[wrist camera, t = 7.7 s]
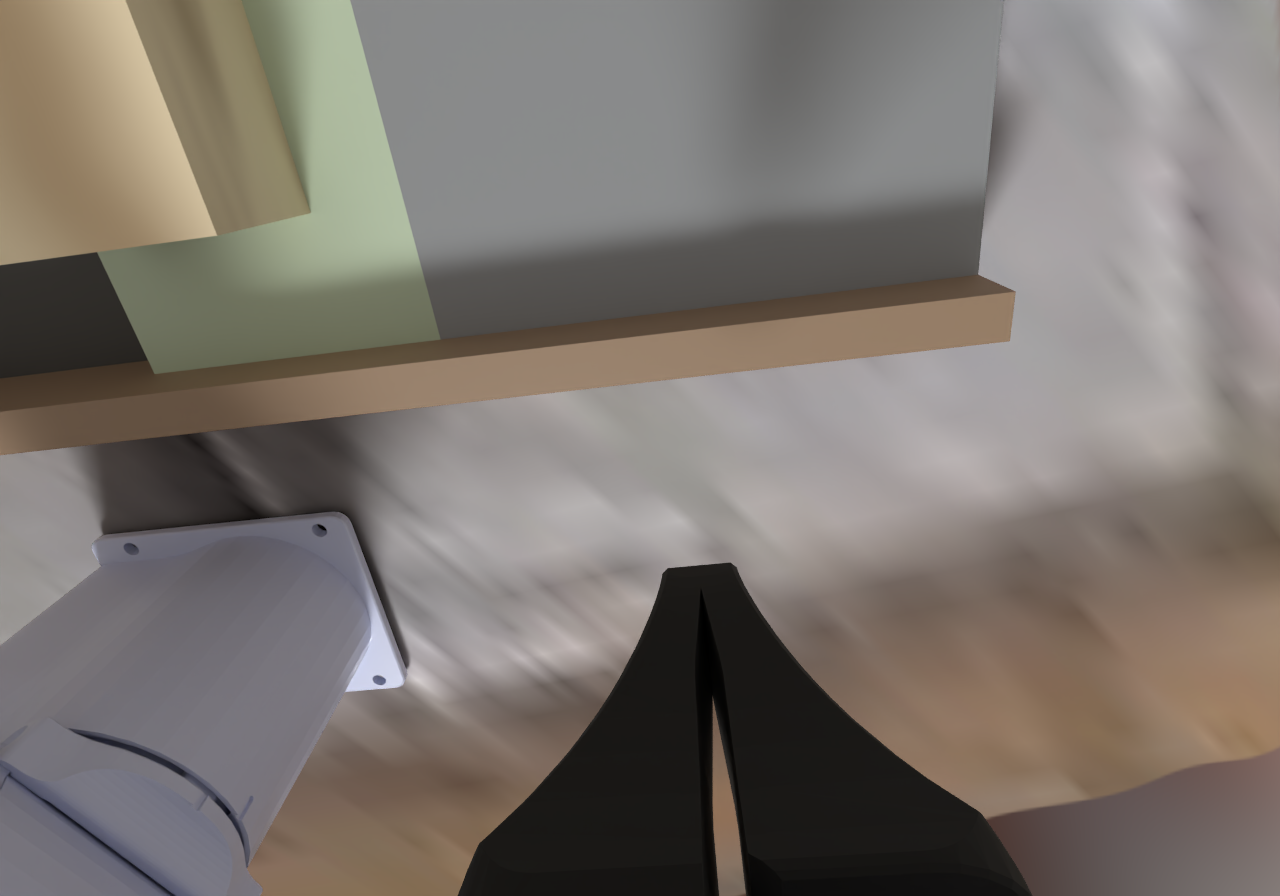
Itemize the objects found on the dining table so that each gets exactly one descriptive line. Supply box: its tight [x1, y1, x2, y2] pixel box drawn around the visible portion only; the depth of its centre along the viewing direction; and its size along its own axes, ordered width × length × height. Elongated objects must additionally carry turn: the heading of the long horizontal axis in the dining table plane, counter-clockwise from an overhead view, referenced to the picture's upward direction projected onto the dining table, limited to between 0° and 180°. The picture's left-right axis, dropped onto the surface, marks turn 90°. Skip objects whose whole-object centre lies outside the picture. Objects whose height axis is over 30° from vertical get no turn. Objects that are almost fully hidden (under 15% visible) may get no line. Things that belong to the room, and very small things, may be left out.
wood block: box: [0, 0, 311, 265], centre depth 14 cm, size 5×5×4 cm
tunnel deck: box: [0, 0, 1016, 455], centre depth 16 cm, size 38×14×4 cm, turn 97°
